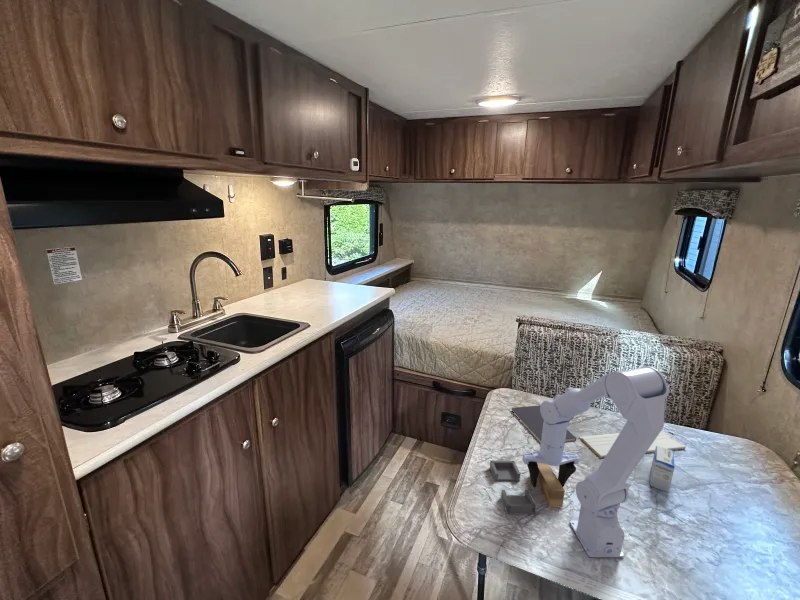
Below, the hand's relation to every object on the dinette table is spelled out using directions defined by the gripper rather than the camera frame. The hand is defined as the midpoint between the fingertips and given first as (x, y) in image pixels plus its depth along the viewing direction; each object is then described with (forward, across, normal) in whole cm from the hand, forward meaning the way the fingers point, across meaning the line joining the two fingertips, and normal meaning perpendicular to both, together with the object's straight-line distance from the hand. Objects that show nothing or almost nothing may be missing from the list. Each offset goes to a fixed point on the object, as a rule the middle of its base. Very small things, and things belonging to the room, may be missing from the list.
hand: (546, 484), depth 99 cm
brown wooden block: (+2, 0, 0) cm, 2 cm away
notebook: (+2, -11, -31) cm, 33 cm away
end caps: (+1, +10, 0) cm, 10 cm away
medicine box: (+2, -34, -3) cm, 34 cm away
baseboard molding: (+2, -37, -21) cm, 43 cm away
